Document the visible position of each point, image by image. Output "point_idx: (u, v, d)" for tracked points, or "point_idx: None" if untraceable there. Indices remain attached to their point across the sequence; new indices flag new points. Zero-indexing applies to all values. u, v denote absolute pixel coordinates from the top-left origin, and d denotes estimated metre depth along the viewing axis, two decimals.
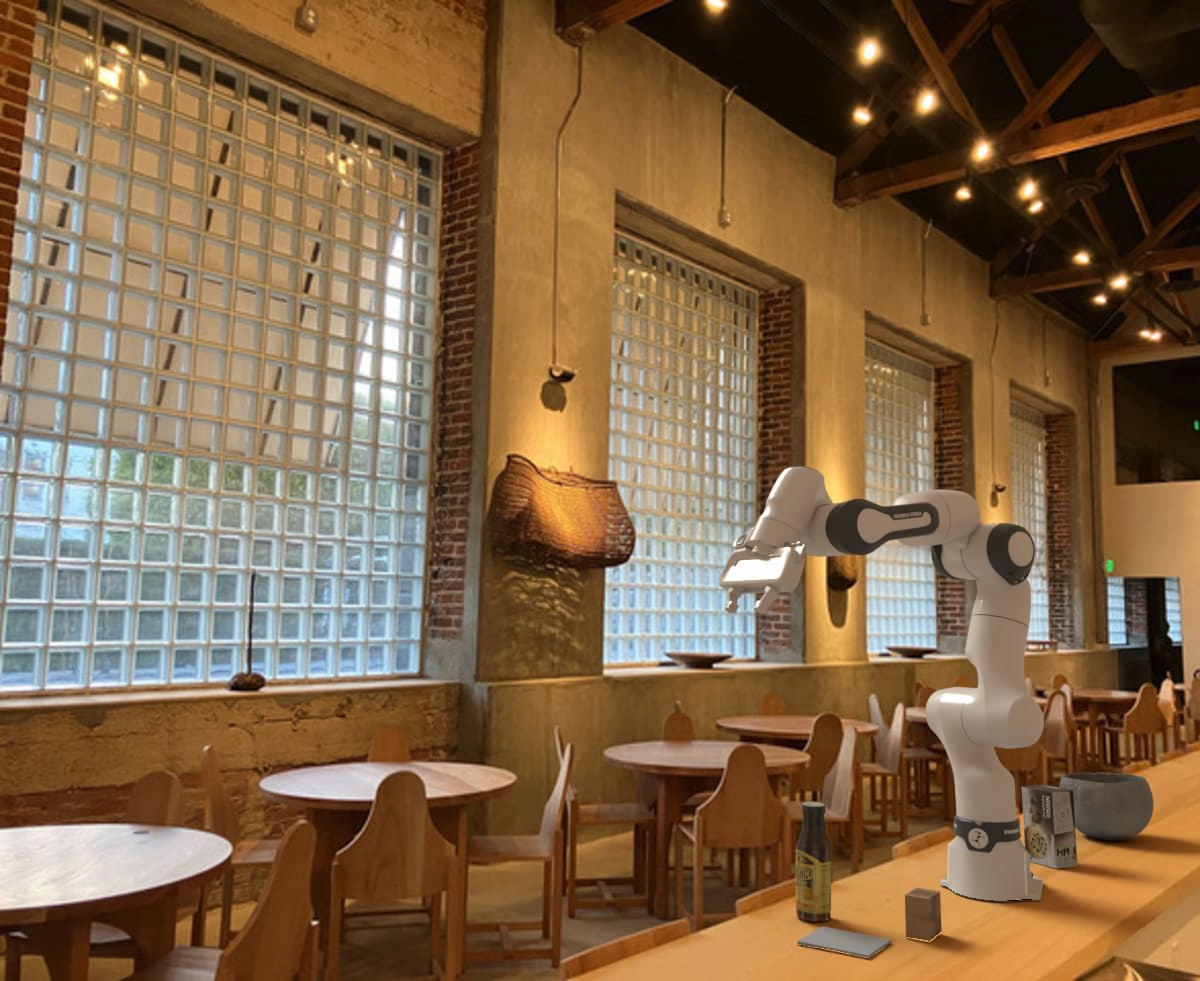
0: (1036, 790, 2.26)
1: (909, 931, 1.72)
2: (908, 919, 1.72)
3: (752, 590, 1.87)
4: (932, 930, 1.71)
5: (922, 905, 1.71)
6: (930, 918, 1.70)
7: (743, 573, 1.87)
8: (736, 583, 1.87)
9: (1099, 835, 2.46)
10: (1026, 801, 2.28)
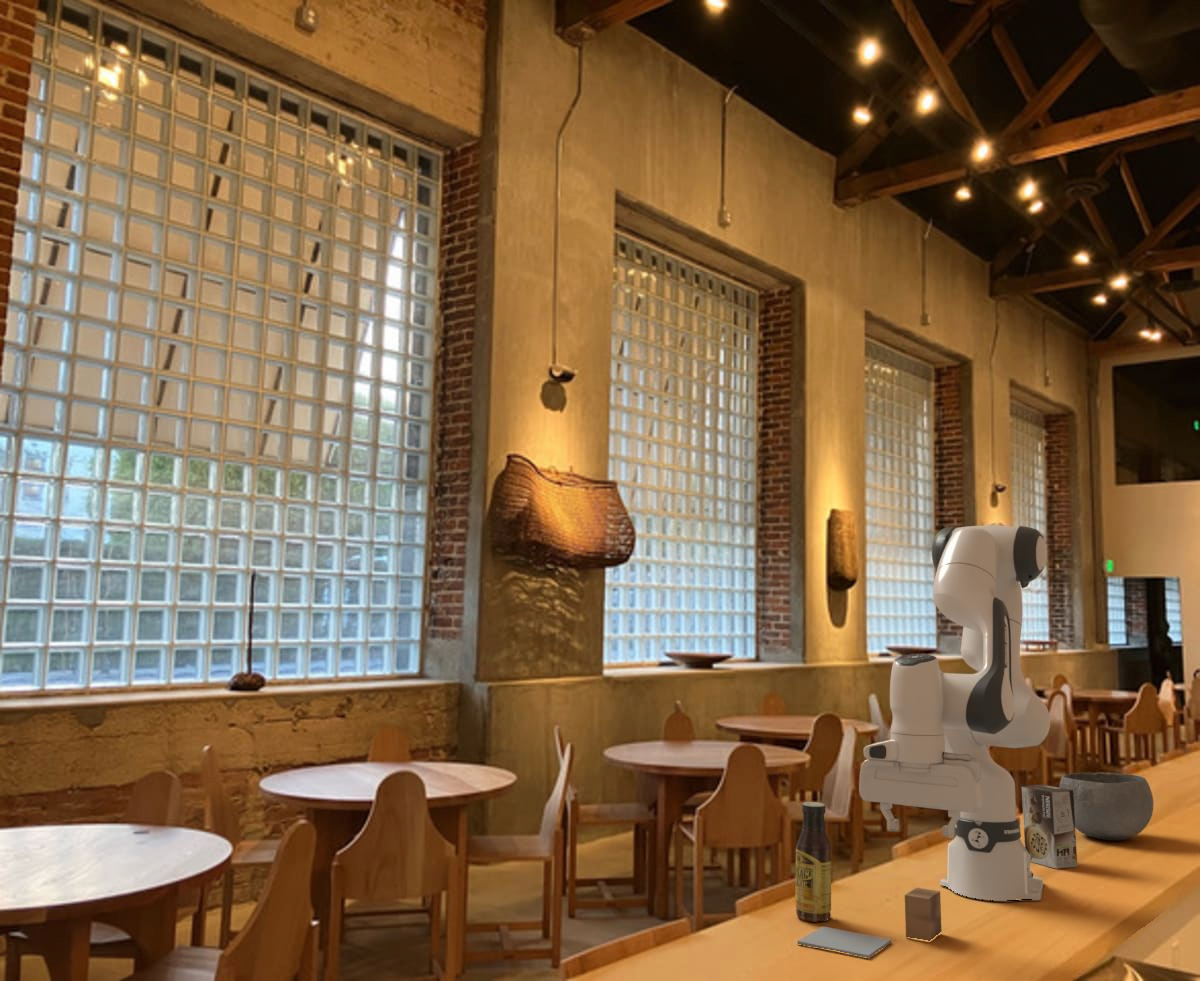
0: (1036, 790, 2.26)
1: (909, 931, 1.72)
2: (908, 919, 1.72)
3: None
4: (932, 930, 1.71)
5: (922, 905, 1.71)
6: (930, 918, 1.70)
7: (900, 791, 1.76)
8: (895, 802, 1.76)
9: (1099, 835, 2.46)
10: (1026, 801, 2.28)
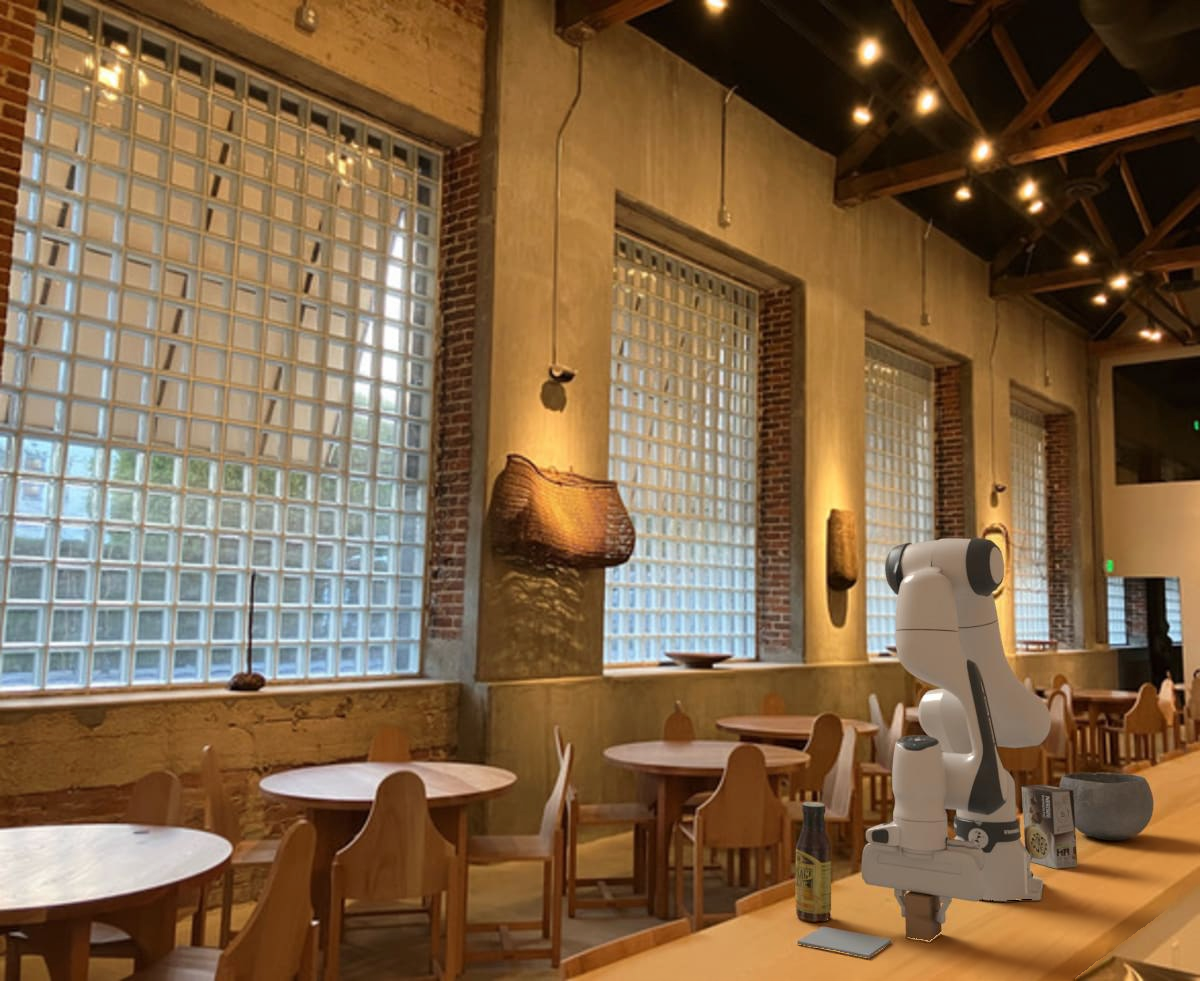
0: (1036, 790, 2.26)
1: (909, 931, 1.72)
2: (908, 919, 1.72)
3: None
4: (932, 930, 1.71)
5: (922, 905, 1.71)
6: (930, 917, 1.70)
7: (903, 877, 1.74)
8: (897, 888, 1.75)
9: (1099, 835, 2.46)
10: (1026, 801, 2.28)
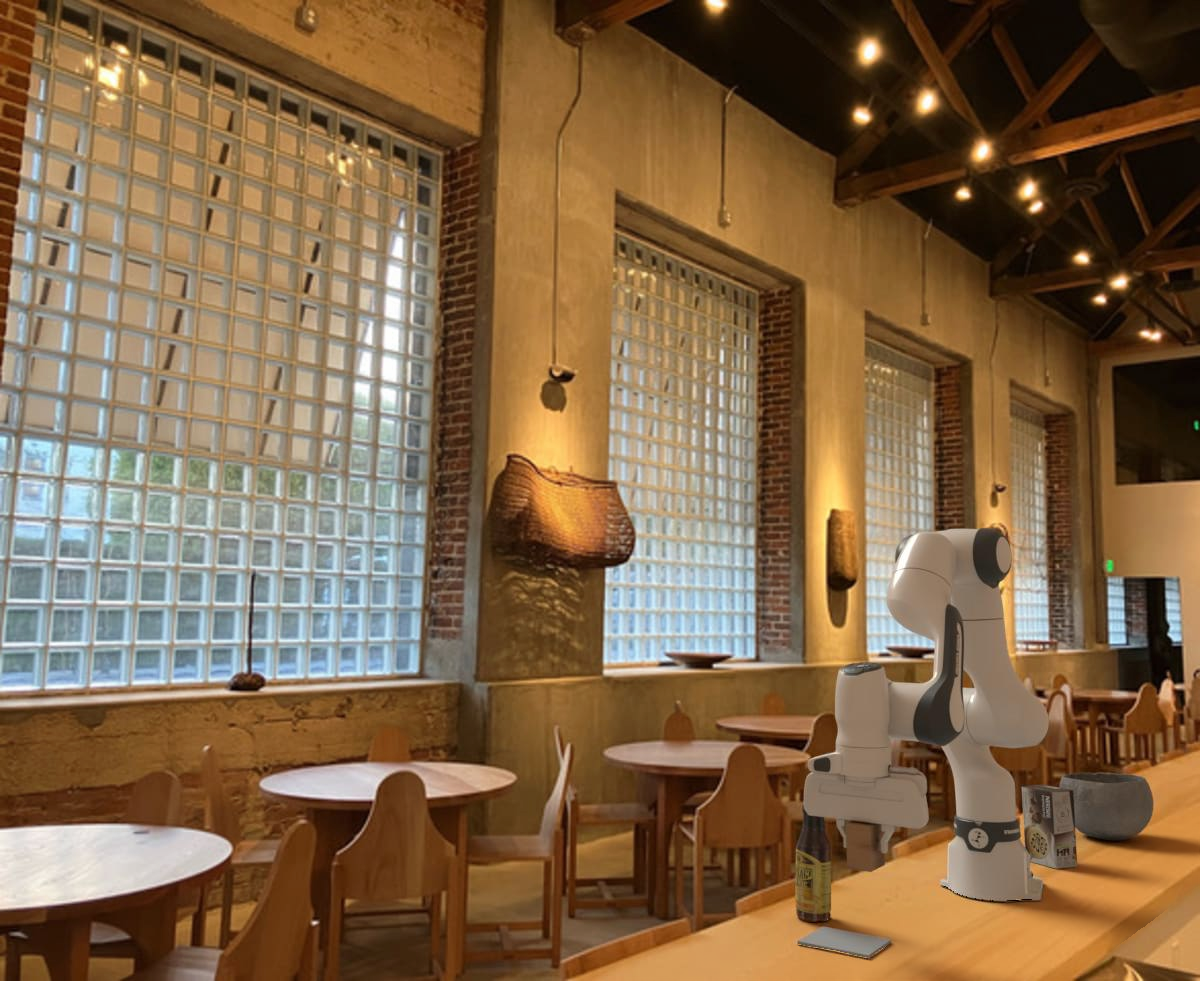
0: (1036, 790, 2.26)
1: (850, 860, 1.66)
2: (849, 848, 1.67)
3: None
4: (874, 859, 1.66)
5: (863, 833, 1.66)
6: (871, 846, 1.65)
7: (845, 806, 1.69)
8: (839, 817, 1.70)
9: (1099, 835, 2.46)
10: (1026, 801, 2.28)
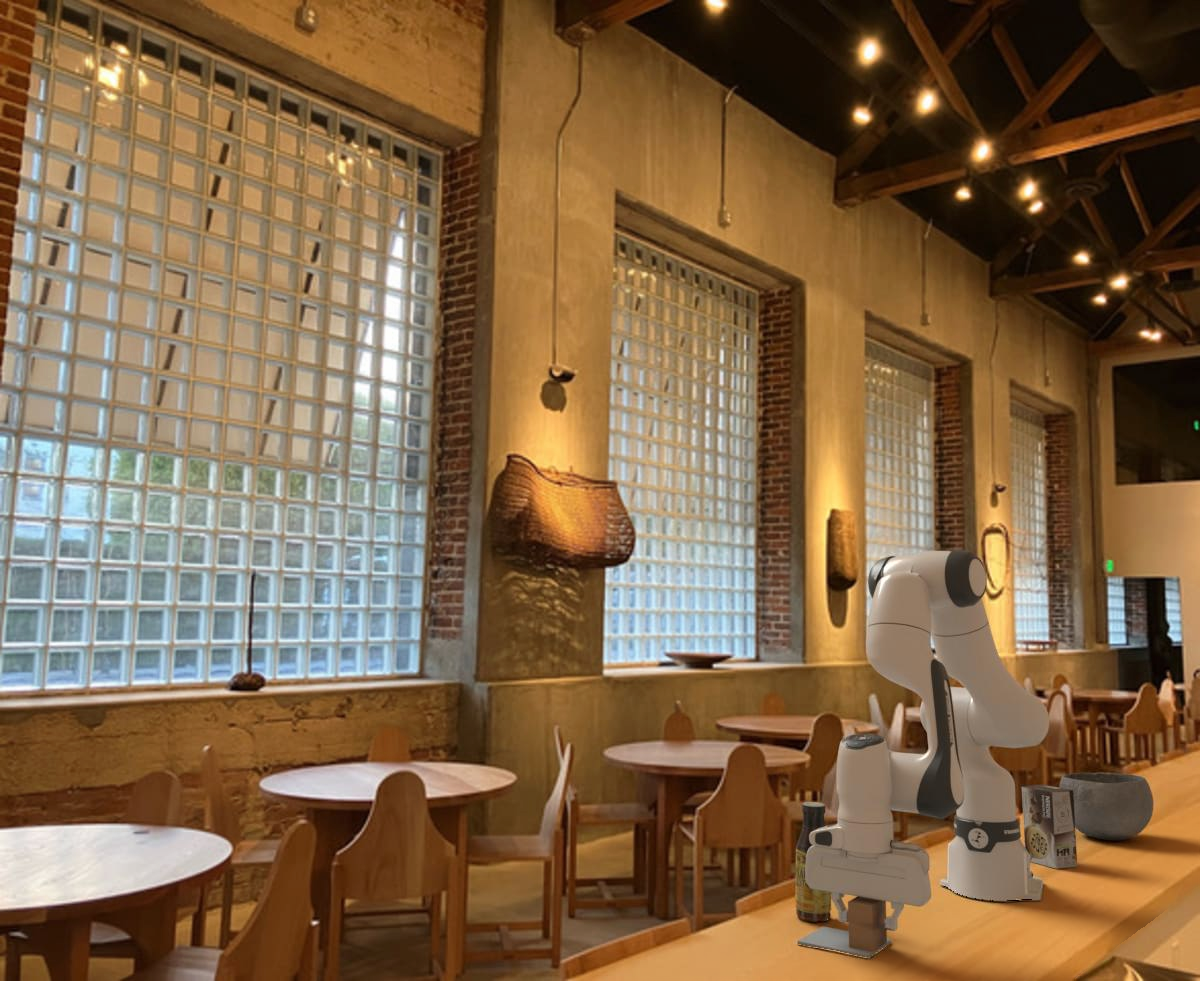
0: (1036, 790, 2.26)
1: (852, 939, 1.65)
2: (851, 927, 1.65)
3: None
4: (876, 938, 1.64)
5: (865, 912, 1.64)
6: (873, 925, 1.64)
7: (847, 880, 1.68)
8: (841, 892, 1.68)
9: (1099, 835, 2.46)
10: (1026, 801, 2.28)
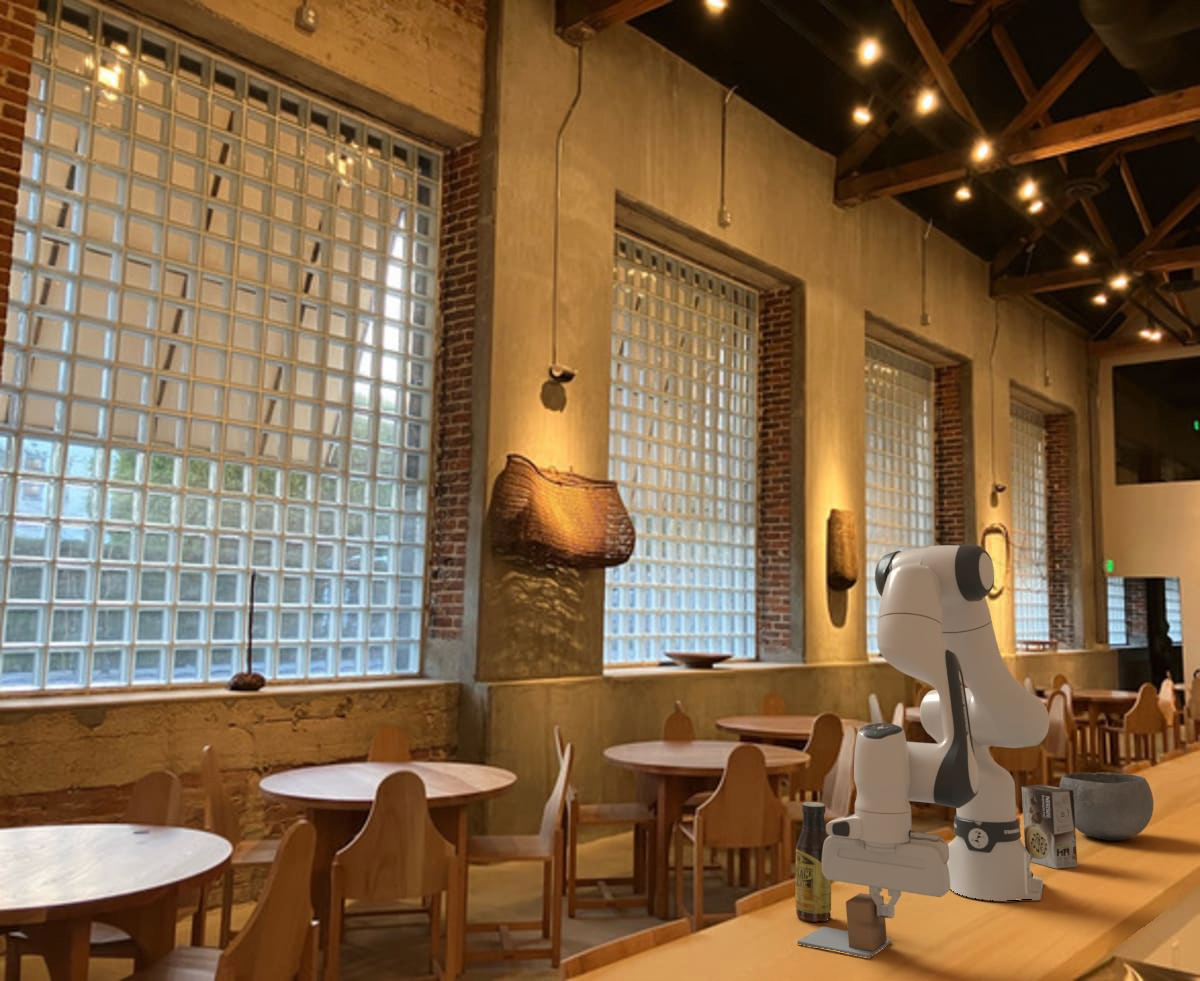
0: (1036, 790, 2.26)
1: (852, 939, 1.65)
2: (850, 927, 1.65)
3: None
4: (875, 937, 1.64)
5: (863, 911, 1.64)
6: (872, 924, 1.64)
7: (864, 871, 1.66)
8: (859, 883, 1.66)
9: (1099, 835, 2.46)
10: (1026, 801, 2.28)
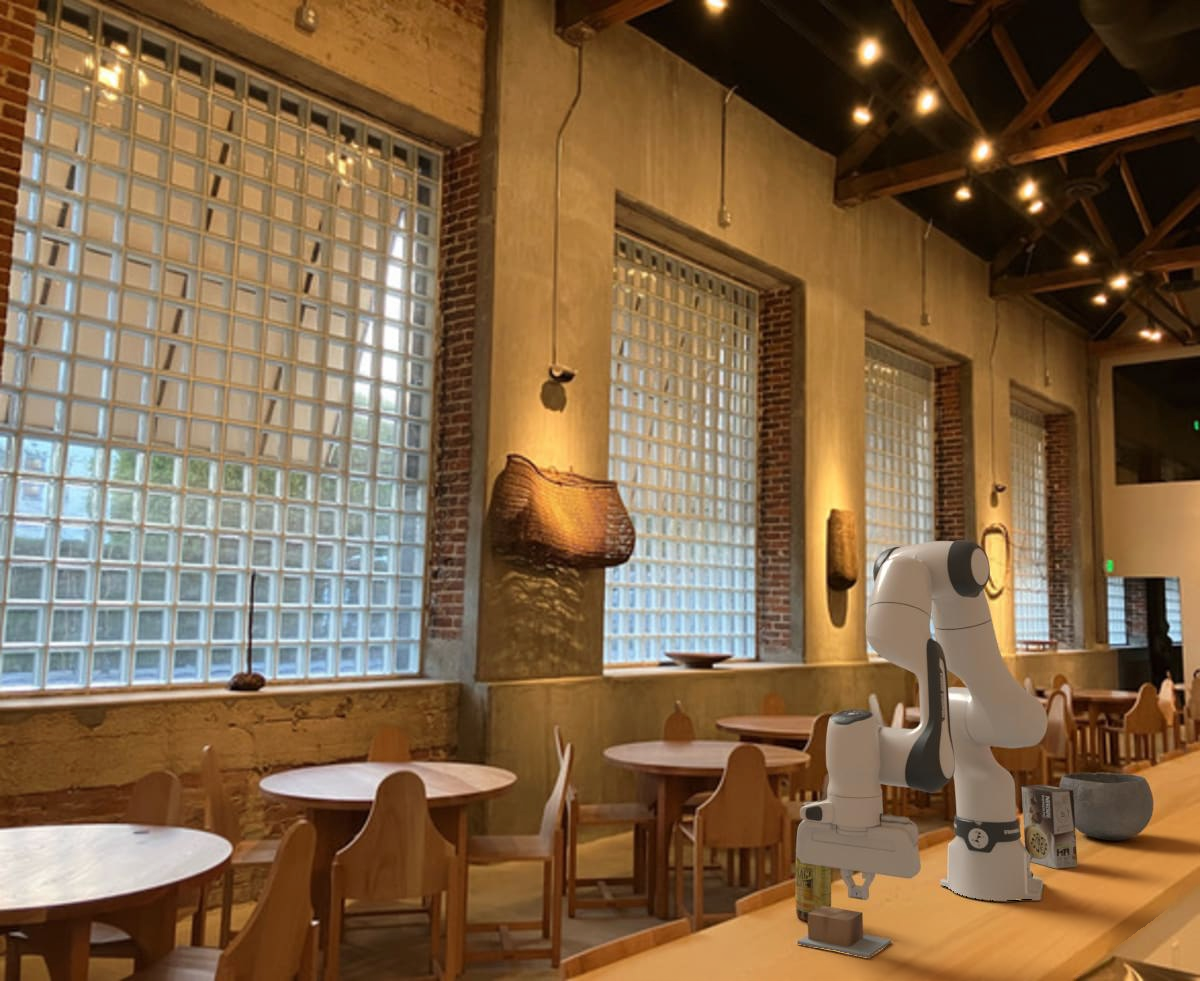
0: (1036, 790, 2.26)
1: (841, 941, 1.66)
2: (830, 940, 1.67)
3: None
4: (842, 917, 1.68)
5: (814, 921, 1.69)
6: (827, 916, 1.68)
7: (837, 854, 1.69)
8: (832, 866, 1.70)
9: (1099, 835, 2.46)
10: (1026, 801, 2.28)
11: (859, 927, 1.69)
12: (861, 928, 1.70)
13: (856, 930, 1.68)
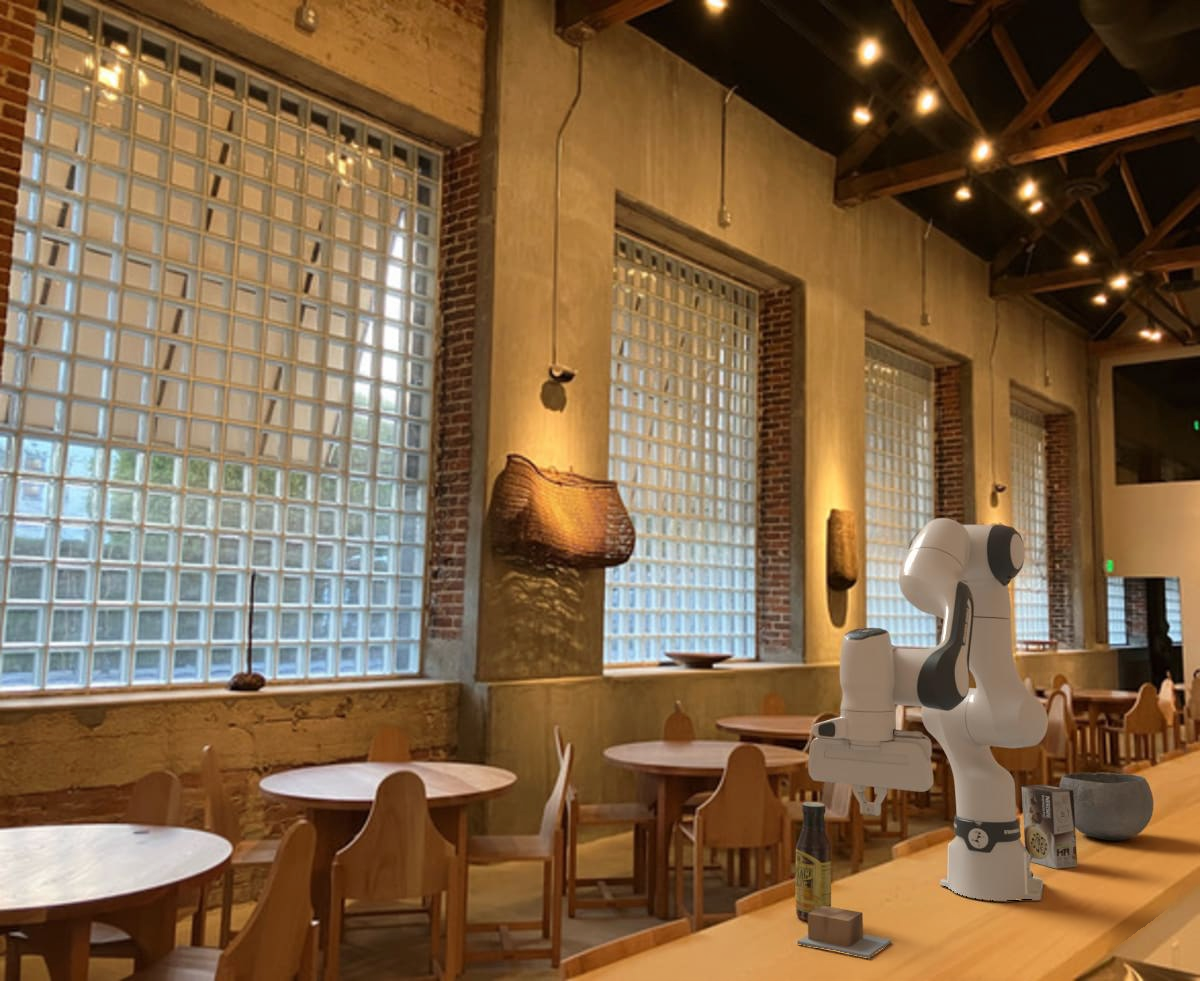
0: (1036, 790, 2.26)
1: (841, 941, 1.66)
2: (830, 940, 1.67)
3: None
4: (842, 917, 1.68)
5: (814, 921, 1.69)
6: (827, 916, 1.68)
7: (850, 770, 1.69)
8: (844, 782, 1.70)
9: (1099, 835, 2.46)
10: (1026, 801, 2.28)
11: (859, 927, 1.69)
12: (861, 928, 1.70)
13: (856, 930, 1.68)
